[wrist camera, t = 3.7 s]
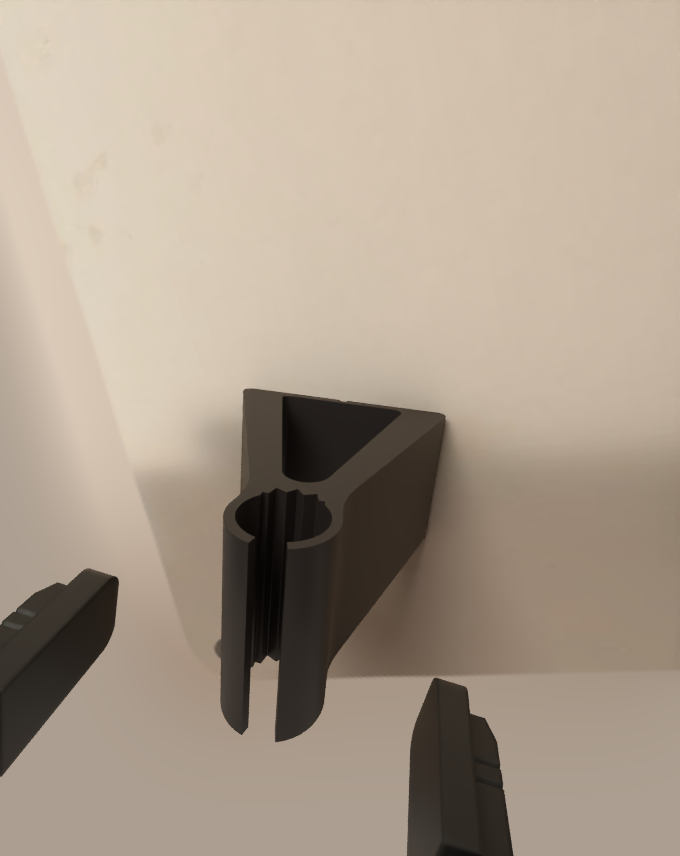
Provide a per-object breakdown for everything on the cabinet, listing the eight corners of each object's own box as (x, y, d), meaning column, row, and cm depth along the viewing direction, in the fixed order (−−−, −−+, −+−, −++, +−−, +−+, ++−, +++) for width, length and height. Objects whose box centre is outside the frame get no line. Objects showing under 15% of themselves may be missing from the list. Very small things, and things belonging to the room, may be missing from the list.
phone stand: (445, 413, 22) (471, 580, 11) (425, 533, 24) (427, 775, 13) (246, 386, 23) (83, 513, 12) (242, 503, 25) (99, 705, 14)
